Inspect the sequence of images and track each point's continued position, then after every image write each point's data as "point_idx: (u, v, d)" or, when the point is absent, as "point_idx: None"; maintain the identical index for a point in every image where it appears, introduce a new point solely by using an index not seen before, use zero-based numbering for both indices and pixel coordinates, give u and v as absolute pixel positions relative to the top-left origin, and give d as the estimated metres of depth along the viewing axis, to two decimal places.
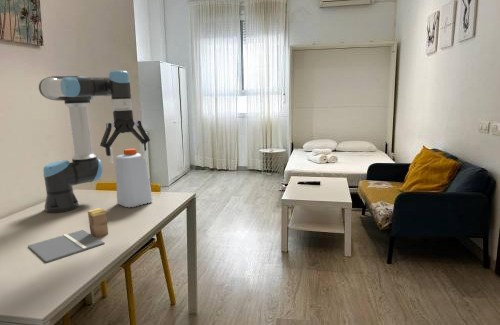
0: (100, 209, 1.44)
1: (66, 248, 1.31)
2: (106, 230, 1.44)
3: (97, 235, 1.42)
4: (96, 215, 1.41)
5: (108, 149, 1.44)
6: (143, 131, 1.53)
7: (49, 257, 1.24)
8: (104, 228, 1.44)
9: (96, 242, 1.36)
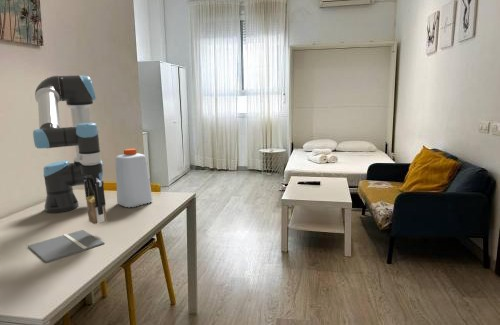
0: None
1: (66, 248, 1.31)
2: (104, 216, 1.44)
3: (95, 221, 1.41)
4: (94, 201, 1.40)
5: None
6: (97, 194, 1.37)
7: (49, 257, 1.24)
8: None
9: (96, 242, 1.36)
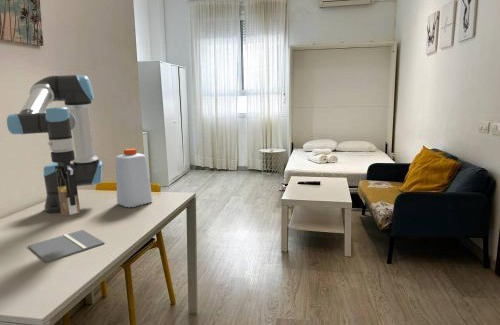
0: None
1: (66, 248, 1.31)
2: (78, 208, 1.34)
3: (67, 213, 1.32)
4: (66, 191, 1.31)
5: None
6: (68, 183, 1.28)
7: (49, 257, 1.24)
8: None
9: (96, 242, 1.36)
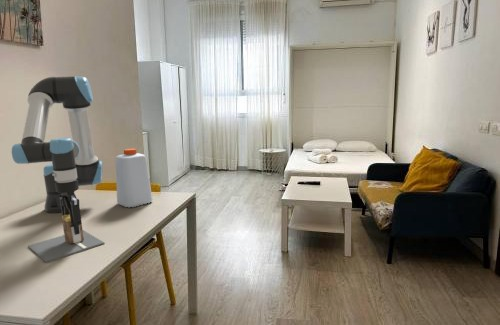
0: None
1: (66, 248, 1.31)
2: (81, 236, 1.36)
3: (71, 241, 1.34)
4: (70, 220, 1.33)
5: None
6: (72, 213, 1.30)
7: (49, 257, 1.24)
8: None
9: (96, 242, 1.36)
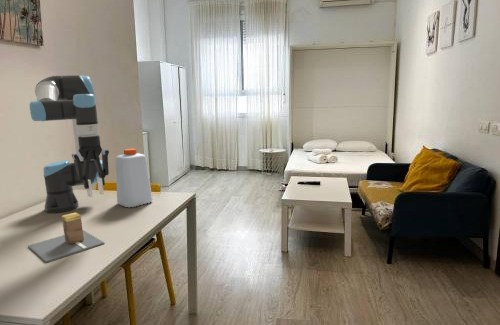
0: (75, 214, 1.37)
1: (66, 248, 1.31)
2: (81, 236, 1.36)
3: (71, 241, 1.34)
4: (70, 220, 1.33)
5: (86, 182, 1.37)
6: (106, 162, 1.42)
7: (49, 257, 1.24)
8: (79, 233, 1.36)
9: (96, 242, 1.36)
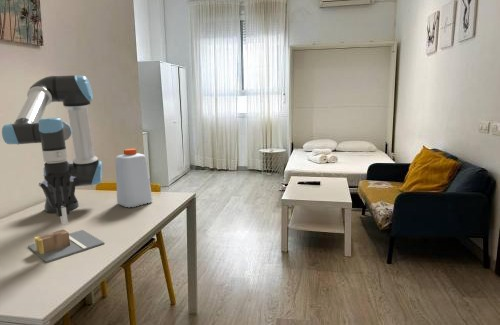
0: (36, 241, 1.28)
1: (66, 248, 1.31)
2: (63, 235, 1.32)
3: (67, 244, 1.33)
4: (43, 250, 1.27)
5: (59, 209, 1.31)
6: (73, 190, 1.34)
7: (49, 257, 1.24)
8: (60, 237, 1.31)
9: (96, 242, 1.36)
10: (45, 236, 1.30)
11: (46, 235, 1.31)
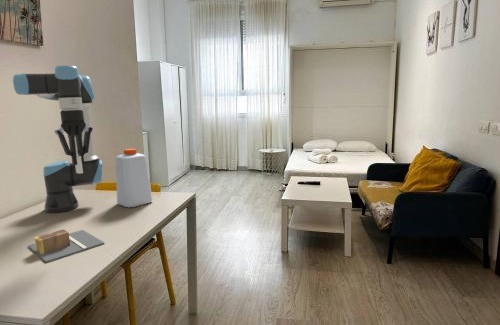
0: (36, 241, 1.28)
1: (66, 248, 1.31)
2: (63, 235, 1.32)
3: (67, 244, 1.33)
4: (43, 250, 1.27)
5: (74, 158, 1.33)
6: (88, 139, 1.36)
7: (49, 257, 1.24)
8: (60, 237, 1.31)
9: (96, 242, 1.36)
10: (45, 236, 1.30)
11: (46, 235, 1.31)
